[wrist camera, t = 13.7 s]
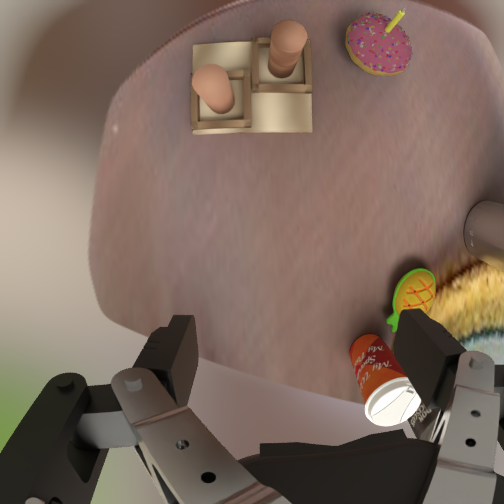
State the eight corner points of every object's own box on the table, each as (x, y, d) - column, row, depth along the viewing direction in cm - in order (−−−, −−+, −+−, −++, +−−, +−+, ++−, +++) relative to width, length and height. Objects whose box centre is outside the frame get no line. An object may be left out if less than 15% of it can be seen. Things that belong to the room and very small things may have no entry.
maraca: (434, 268, 43) (451, 280, 37) (410, 327, 45) (424, 344, 40) (397, 257, 42) (413, 269, 37) (373, 320, 45) (385, 338, 40)
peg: (234, 89, 36) (228, 63, 25) (234, 113, 36) (227, 96, 26) (208, 90, 36) (192, 65, 25) (208, 114, 36) (191, 97, 26)
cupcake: (340, 20, 33) (367, -21, 22) (398, 38, 34) (438, 7, 22) (334, 74, 36) (362, 44, 24) (394, 91, 36) (438, 71, 24)
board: (307, 45, 35) (325, 6, 23) (310, 133, 38) (332, 121, 26) (194, 47, 35) (172, 9, 23) (194, 135, 38) (169, 124, 27)
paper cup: (360, 320, 45) (394, 377, 31) (398, 337, 46) (436, 391, 32) (333, 361, 47) (354, 424, 33) (370, 374, 48) (398, 434, 34)
